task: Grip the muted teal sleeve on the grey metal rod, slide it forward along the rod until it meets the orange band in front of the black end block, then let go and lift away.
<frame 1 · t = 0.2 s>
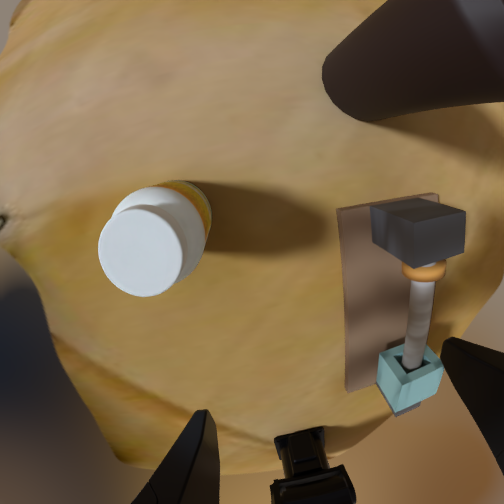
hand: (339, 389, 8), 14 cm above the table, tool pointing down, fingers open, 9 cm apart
rod stand: (390, 302, 24), on the table
vinegar: (358, 83, 18), on the table
sleeve: (409, 374, 21), point 5 cm above the table, slide at 0.0 cm
supplement bottle: (177, 214, 20), on the table
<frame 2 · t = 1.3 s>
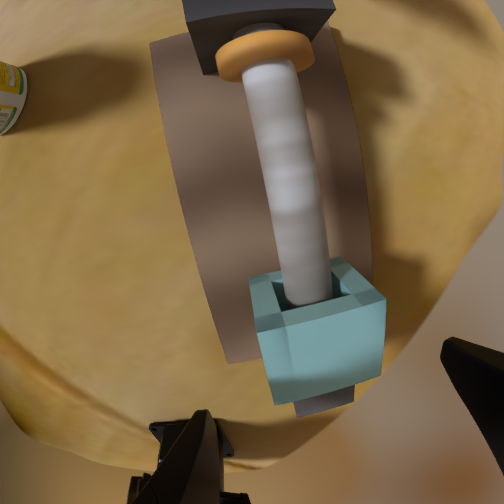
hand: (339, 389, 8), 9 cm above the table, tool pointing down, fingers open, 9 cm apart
rod stand: (275, 191, 15), on the table
sleeve: (312, 326, 12), point 5 cm above the table, slide at 0.0 cm
supplement bottle: (8, 101, 11), on the table
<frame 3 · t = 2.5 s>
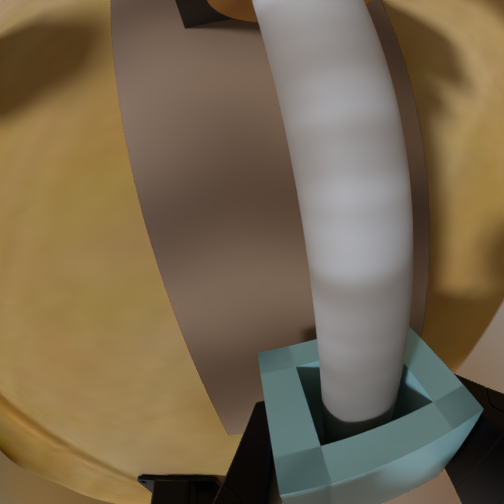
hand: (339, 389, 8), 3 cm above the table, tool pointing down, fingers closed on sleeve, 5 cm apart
rod stand: (298, 210, 10), on the table
sleeve: (356, 427, 7), point 5 cm above the table, slide at 0.0 cm, touching gripper
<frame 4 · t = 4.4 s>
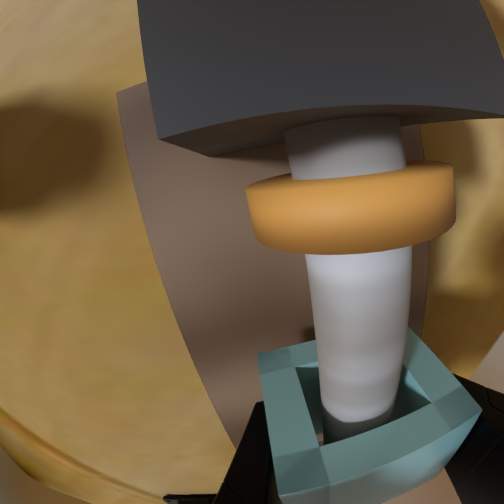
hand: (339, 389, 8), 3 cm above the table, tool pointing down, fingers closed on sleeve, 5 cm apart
rod stand: (313, 321, 11), on the table
sleeve: (355, 427, 7), point 5 cm above the table, slide at 4.6 cm, touching gripper
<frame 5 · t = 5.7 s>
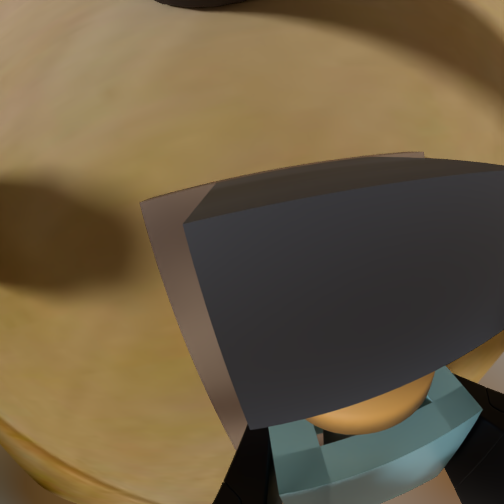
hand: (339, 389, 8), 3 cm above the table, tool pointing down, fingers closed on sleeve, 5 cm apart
rod stand: (319, 383, 12), on the table
sleeve: (355, 427, 7), point 5 cm above the table, slide at 8.4 cm, touching gripper
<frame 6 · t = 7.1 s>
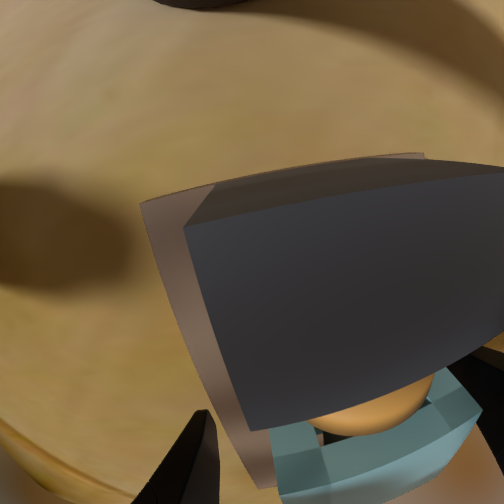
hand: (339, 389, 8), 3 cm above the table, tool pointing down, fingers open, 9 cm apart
rod stand: (319, 383, 12), on the table
sleeve: (355, 427, 7), point 5 cm above the table, slide at 8.5 cm
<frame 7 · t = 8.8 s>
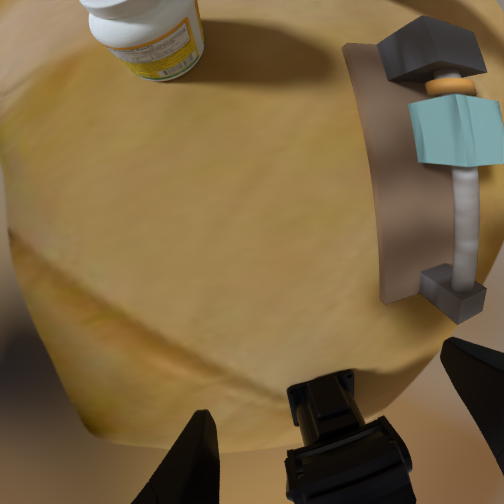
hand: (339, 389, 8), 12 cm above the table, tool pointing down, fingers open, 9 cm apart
rod stand: (422, 170, 18), on the table
sleeve: (459, 131, 12), point 5 cm above the table, slide at 8.5 cm
supplement bottle: (167, 50, 14), on the table
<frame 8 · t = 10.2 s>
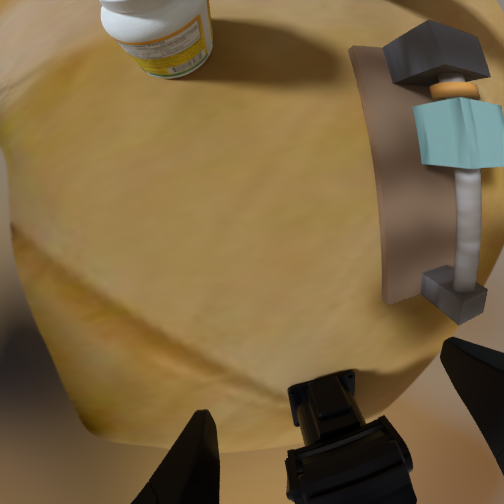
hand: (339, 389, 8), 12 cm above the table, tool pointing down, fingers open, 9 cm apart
rod stand: (425, 172, 18), on the table
sleeve: (463, 134, 13), point 5 cm above the table, slide at 8.5 cm
supplement bottle: (175, 48, 15), on the table
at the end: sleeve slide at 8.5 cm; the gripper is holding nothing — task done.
